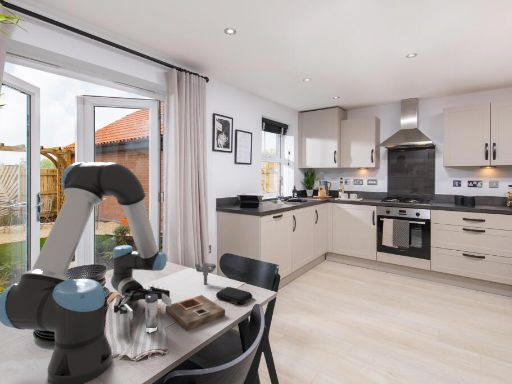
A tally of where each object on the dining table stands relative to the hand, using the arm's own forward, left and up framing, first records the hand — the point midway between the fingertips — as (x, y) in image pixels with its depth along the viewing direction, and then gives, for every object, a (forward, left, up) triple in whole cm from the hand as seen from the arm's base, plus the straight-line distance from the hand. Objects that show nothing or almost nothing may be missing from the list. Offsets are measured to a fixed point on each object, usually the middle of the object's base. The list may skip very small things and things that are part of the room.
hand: (151, 308), depth 99 cm
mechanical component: (+35, +23, -7) cm, 43 cm away
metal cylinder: (-1, -1, -7) cm, 7 cm away
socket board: (+16, -1, -7) cm, 18 cm away
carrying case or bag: (+36, +1, -7) cm, 37 cm away
